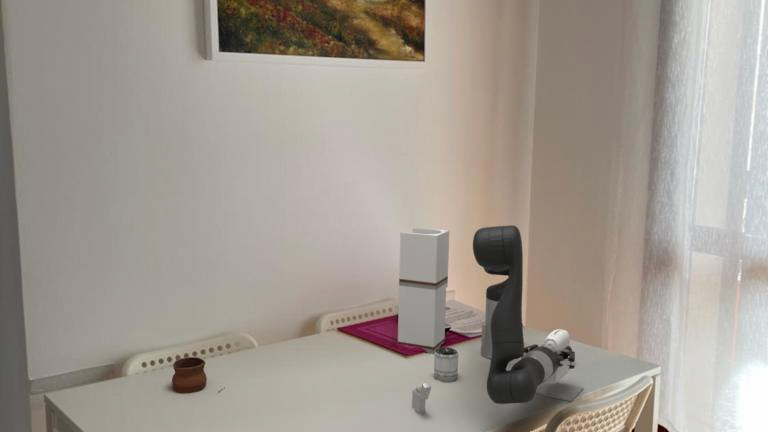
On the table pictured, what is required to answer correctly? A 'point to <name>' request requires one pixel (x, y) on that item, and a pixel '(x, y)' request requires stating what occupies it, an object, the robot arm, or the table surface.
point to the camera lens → (446, 364)
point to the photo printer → (557, 342)
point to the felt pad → (559, 391)
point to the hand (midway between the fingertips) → (559, 348)
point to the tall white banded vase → (423, 288)
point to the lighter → (420, 397)
